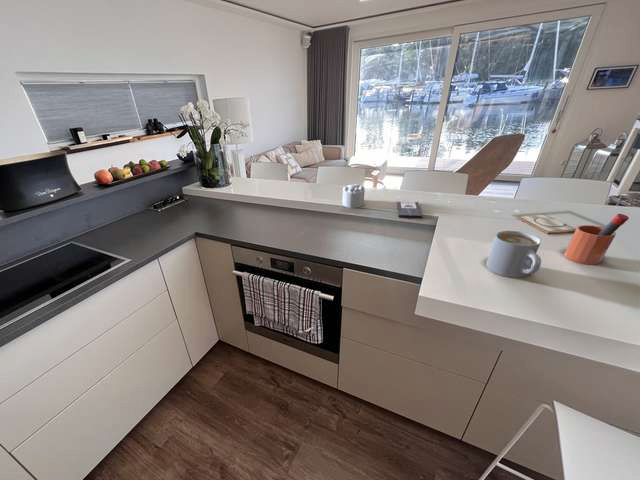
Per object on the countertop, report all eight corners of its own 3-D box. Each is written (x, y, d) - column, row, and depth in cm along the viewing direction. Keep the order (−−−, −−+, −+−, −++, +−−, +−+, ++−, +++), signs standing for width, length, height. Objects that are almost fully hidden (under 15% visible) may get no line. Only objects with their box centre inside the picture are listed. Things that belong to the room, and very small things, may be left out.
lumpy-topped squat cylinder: (363, 199, 148) (364, 182, 144) (364, 207, 137) (365, 190, 133) (342, 199, 150) (343, 183, 146) (342, 208, 140) (342, 190, 135)
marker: (584, 252, 86) (623, 213, 76) (590, 257, 84) (631, 219, 74) (576, 252, 86) (614, 213, 76) (582, 257, 84) (622, 219, 74)
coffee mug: (479, 260, 89) (489, 231, 84) (515, 260, 87) (526, 230, 82) (503, 284, 78) (515, 252, 73) (544, 284, 76) (559, 251, 71)
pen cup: (583, 251, 89) (597, 224, 84) (608, 263, 82) (624, 235, 77) (557, 252, 89) (569, 226, 85) (579, 265, 82) (594, 237, 78)
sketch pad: (568, 213, 113) (569, 211, 112) (607, 230, 99) (608, 227, 98) (515, 217, 114) (516, 215, 113) (547, 234, 100) (548, 232, 100)
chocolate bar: (399, 215, 123) (397, 201, 138) (398, 217, 124) (397, 203, 138) (421, 215, 120) (417, 201, 135) (421, 217, 121) (417, 203, 135)
